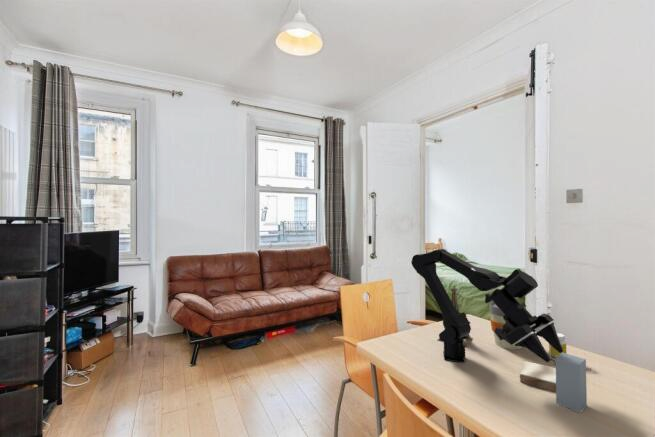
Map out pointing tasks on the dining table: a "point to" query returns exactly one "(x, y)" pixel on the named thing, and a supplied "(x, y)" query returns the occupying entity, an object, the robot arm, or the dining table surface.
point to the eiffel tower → (454, 301)
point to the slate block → (571, 382)
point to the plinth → (538, 375)
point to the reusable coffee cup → (499, 322)
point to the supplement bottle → (552, 351)
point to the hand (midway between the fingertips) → (555, 356)
